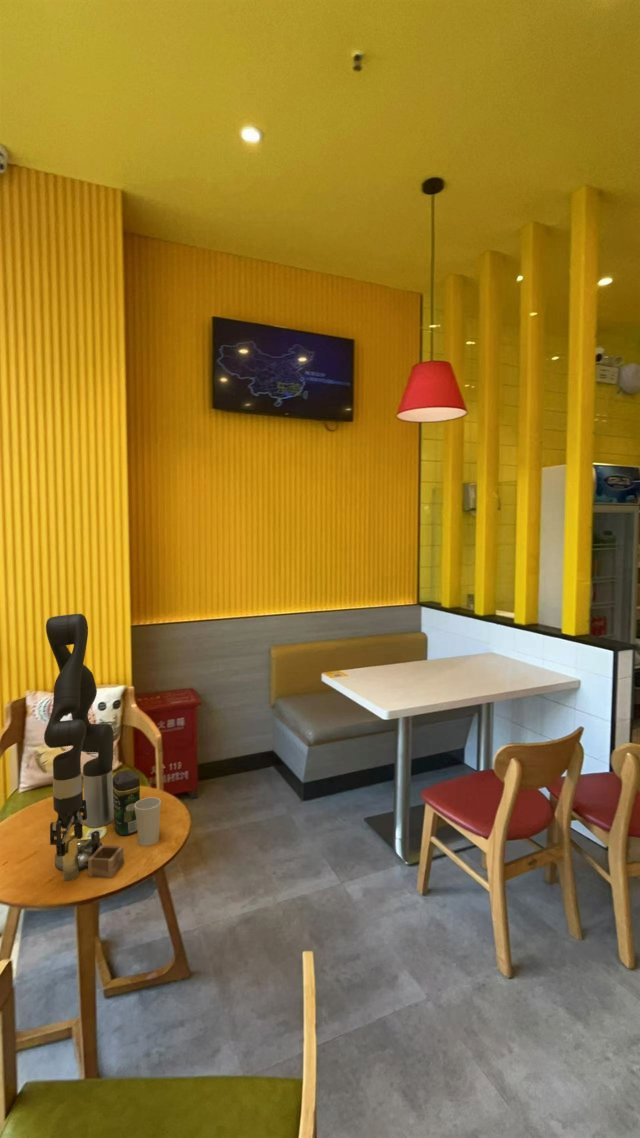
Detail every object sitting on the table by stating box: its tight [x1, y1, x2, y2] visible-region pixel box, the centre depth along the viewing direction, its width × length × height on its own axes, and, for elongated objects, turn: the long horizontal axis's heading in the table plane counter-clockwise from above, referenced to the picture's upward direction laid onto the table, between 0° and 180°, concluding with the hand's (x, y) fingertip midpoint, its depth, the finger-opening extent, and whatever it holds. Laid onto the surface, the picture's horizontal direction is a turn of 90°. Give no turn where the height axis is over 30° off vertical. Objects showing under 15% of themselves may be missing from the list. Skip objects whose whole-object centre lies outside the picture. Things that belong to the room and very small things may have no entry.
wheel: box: [54, 830, 104, 871], centre depth 159 cm, size 13×13×8 cm
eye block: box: [87, 845, 125, 879], centre depth 153 cm, size 7×7×5 cm
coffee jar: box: [113, 769, 141, 836], centre depth 175 cm, size 10×8×19 cm
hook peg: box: [62, 834, 80, 882], centre depth 150 cm, size 4×4×11 cm
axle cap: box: [78, 839, 85, 851], centre depth 159 cm, size 3×3×2 cm
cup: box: [134, 796, 162, 847], centre depth 168 cm, size 8×8×12 cm
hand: (70, 846), depth 150 cm, fingers open, 8 cm apart
